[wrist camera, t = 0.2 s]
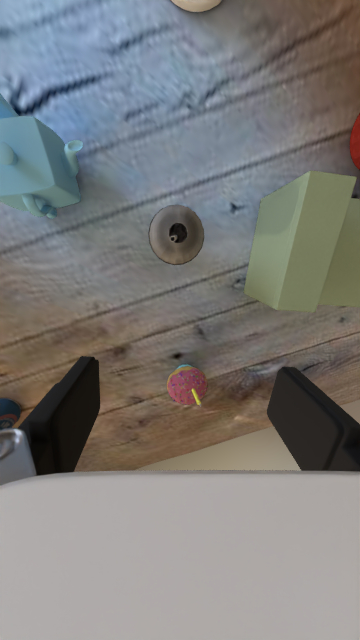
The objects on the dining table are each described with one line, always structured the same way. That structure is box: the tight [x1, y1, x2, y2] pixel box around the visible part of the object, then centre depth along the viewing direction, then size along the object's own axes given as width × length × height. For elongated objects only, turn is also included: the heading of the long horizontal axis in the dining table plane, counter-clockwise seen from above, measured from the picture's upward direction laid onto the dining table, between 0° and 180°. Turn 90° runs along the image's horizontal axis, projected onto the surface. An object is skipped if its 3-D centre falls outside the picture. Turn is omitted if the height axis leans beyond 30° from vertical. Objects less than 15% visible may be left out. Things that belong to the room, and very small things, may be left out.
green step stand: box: [243, 171, 360, 313], centre depth 33 cm, size 22×17×13 cm
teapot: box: [0, 94, 83, 218], centre depth 28 cm, size 18×14×10 cm
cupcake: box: [167, 364, 208, 406], centre depth 40 cm, size 9×8×12 cm
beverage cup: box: [148, 205, 204, 265], centre depth 28 cm, size 7×7×20 cm
